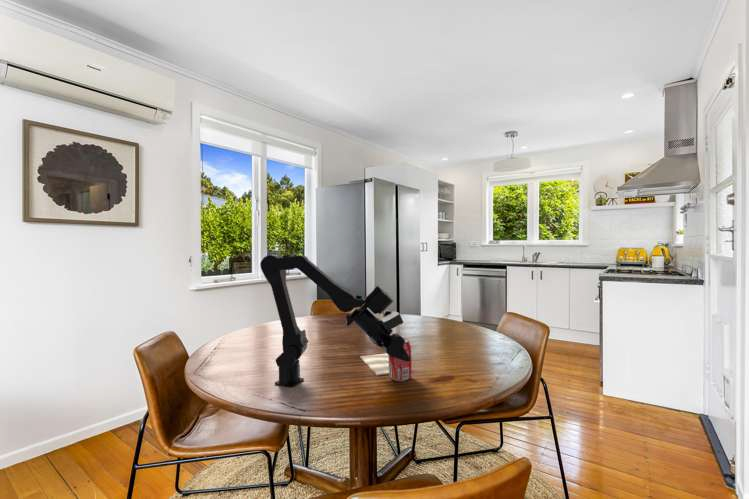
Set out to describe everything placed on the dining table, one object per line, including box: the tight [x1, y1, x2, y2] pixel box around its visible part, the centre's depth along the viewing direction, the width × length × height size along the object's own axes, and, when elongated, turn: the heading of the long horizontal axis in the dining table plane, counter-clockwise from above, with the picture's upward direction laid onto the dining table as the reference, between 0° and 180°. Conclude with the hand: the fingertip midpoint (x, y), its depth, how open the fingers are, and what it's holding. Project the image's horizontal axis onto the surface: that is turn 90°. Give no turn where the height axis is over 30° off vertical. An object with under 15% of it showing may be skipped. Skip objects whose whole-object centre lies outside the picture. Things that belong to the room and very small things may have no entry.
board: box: [359, 352, 413, 376], centre depth 131 cm, size 20×12×1 cm, turn 18°
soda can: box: [388, 337, 412, 382], centre depth 117 cm, size 7×7×12 cm
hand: (403, 356), depth 117 cm, fingers open, 9 cm apart
